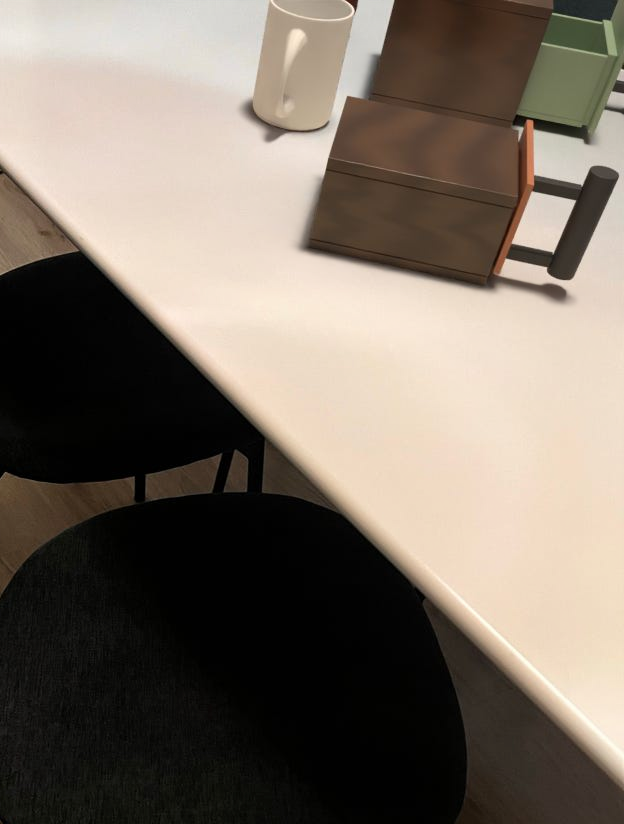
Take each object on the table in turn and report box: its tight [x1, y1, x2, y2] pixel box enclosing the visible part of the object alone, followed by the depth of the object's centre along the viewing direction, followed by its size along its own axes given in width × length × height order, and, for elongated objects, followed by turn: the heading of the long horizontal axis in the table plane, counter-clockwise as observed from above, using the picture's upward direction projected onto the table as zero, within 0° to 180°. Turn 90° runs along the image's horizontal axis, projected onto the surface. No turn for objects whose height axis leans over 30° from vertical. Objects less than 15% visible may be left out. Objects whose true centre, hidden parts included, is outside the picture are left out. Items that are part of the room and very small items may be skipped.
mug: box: [252, 0, 356, 132], centre depth 105 cm, size 9×12×11 cm
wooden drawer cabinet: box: [368, 0, 554, 129], centre depth 114 cm, size 16×14×12 cm
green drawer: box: [516, 0, 624, 135], centre depth 112 cm, size 22×14×11 cm, turn 76°
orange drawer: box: [492, 119, 620, 281], centre depth 91 cm, size 22×14×9 cm, turn 76°
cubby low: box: [307, 95, 520, 286], centre depth 92 cm, size 16×14×8 cm
